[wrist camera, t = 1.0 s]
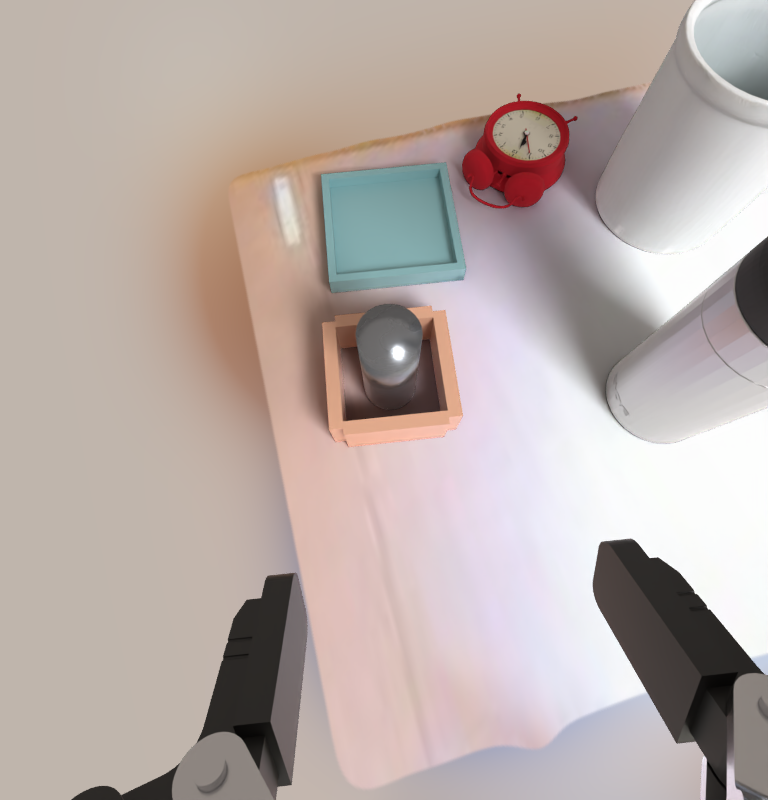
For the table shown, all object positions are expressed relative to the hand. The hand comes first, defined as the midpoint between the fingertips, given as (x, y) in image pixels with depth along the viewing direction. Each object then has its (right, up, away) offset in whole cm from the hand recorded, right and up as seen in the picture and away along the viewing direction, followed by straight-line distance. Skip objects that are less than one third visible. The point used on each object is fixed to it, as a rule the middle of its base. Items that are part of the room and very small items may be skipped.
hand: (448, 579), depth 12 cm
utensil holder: (+29, +26, +38) cm, 55 cm away
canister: (-1, +6, +32) cm, 33 cm away
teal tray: (-1, +23, +38) cm, 44 cm away
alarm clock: (+13, +31, +41) cm, 53 cm away
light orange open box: (-1, +6, +32) cm, 33 cm away
